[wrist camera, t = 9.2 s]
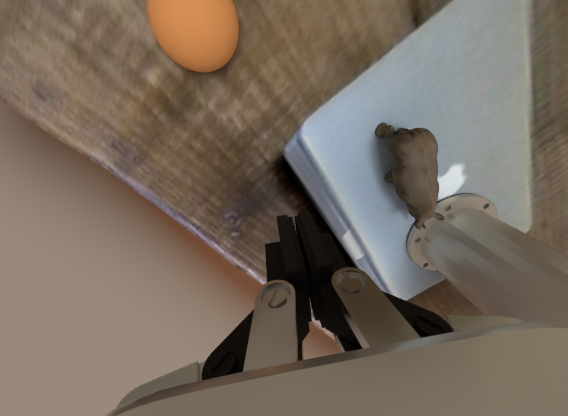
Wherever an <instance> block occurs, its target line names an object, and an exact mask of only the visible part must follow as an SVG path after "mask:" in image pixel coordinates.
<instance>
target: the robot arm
mask: <svg viewBox="0 0 568 416" xmlns="http://www.w3.org/2000/svg"><path fill="white" fill-rule="evenodd" d="M434 212H436V213H439V214H442V215H443V217H444V219H445V220H437V219H436V218H434V217H433V218H430V219H428V220H425V222H423V223H424V225H425V226H426V229H424V228H423V227H421V229H420V230H418V229H417V228H416V227H415V225H414V226H413V228H412V230H411V232H410V234H409V238H408V241H407V250H408V254H409V256H410V258H411V259H412V260H413V262H414V263H415V264H416V265H418V266H419V267H420V268H423V269H425V270H430V271H439V272H440V273H441V274H442V275H443V276H444V277H445V278H446V279H447V280H448V281H449V282H450V283H451V284H452V285H453V286H455V287H456V289H457V291H458V292H459V293H462V294H463V295H464V296H465V297H466V298H467V299H468V300H469V301H470V302H471V303H472V304H473V305H474V306H475V307H476V308H477V309H478V310H479V311H480V312H481V313H482V314H483V315H484V316H473V315H446V317H445V318H442V317H440V316H439V315H437V314H435V313H433V312H431V311H429V310H426V309H424V308H421V307H419V306H417V305H414V304H412V303H409V302H407V301H405V300H402V299H400V298H397V297H395V296H393V295H390V294H388V293H385V292H383V291H381V290H380V289H379V287H378V286H377V285H376V284H375V283H374V281H373V280H372V279H371V278H370V277H369V276H368V275H367V274H366V273H365V272H364V271H362V270H360V269H356V268H350V267H347V266H346V264H345V262H344V260H343V258H342V256H341V254H340V252H339V250H338V248H337V246H336V244H335V242H334V240H333V239H332V237H331V235H330V234H329V233H327V234H321V235H320V234H319V232H318V230H317V228H316V225H315V223H314V221H313V219H312V216H311V214H310V212H309V211H306V212H300V213H298V216H295V224H296V231H295V227H294V224H293V220H292V217H287V215H282V216H277V223H278V229H279V235H280V242H274V243H268V244H265V249H266V266H267V283H266V284H264V285H263V286H262V287H261V288H260V289H259V291H258V293H257V296H256V302H255V307H254V310H253V311H252V312H251V313H250V314H249V315H248V316H247V317H246V318H245V319H244V320H243V321H242V322H241V323H240V324H239V325H238V326H237V327H236V328H235V329H234V330H233V331H232V332H231V334H229V336H228V337H227V338H226V339H225V340H224V341H223V342H222V343H221V344H220V345H219V346H218V347H217V348H216V349H215V350H214V351H213V352H212V353H211V354H210V356H209V357H208V358H207V360H206V361H205V362H202V363H200V364H199V363H198V362H194V363H192V364H190V365H187V366H185V367H183V368H180V369H178V370H175V371H173V372H171V373H168V374H166V375H164V376H161V377H159V378H157V379H154V380H152V381H150V382H147V383H145V384H143V385H140V386H138V387H137V388H135V389H133V390H132V391H130V392H129V393H128V394H127V395H126V396H125V397H124V398H123V399H122V400H121V402H120V403H119V405H118V406H117V408H116V409H114V410H113V411H111V412H109V413H107V414H106V415H104V416H568V256H567V255H565V254H563V253H561V252H559V251H557V250H555V249H553V248H552V247H550V246H548V245H546V244H544V243H542V242H540V241H538V240H536V239H534V238H533V237H531V236H529V235H527V234H525V233H523V232H521V231H519V230H517V229H515V228H514V227H512V226H510V225H508V224H506V223H504V222H502V221H500V220H498V213H497V209H496V207H495V205H494V204H493V203H492V202H491V201H490V200H488V199H486V198H484V197H482V196H479V195H475V194H461V195H456V196H453V197H449V198H447V199H445V200H443V201H441V202H439V203H437V204H436V207H435V210H434ZM296 232H297V234H296ZM309 298H310V300H309ZM310 302H311V305H312V309H313V313H314V317H315V320H320V322H321V326H322V328H324V327H325V328H326V329H327V330H329V331H331V332H332V333H334V338H335V341H336V343H337V345H338V347H339V349H340V351H341V353H338V354H333V355H328V356H323V357H318V358H312V359H307V360H304V359H303V342H302V341H303V340H304V338H305V337H306V335H307V334H308V333H309V323H308V322H311V321H312V318H311V309H310Z"/></svg>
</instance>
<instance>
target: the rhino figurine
mask: <svg viewBox="0 0 568 416" xmlns="http://www.w3.org/2000/svg"><path fill="white" fill-rule="evenodd" d="M375 134H376V135H377V136H378V138H379V139H382V138H384V137H386V139H387V141H388V146H389V150H390V152H391V154H392V155H393V156H394V158H395V160H394V162H393V165H392V172H390V173H389V174H388V175H387V176H385V181H387V183H392V182H393V181H394V184H395V188H396V192H397V194H398V196H399V197H400V198H401V199H402V200H403V201H405V202H406V203H408V204H407V208H408V211H409V214H411V216H412V217H414V218H415V219H416V222H415V227H416V228H417V229H418V230H420V229H421V227H423V228H424V229H426V226H425V225H424V223H423V222H425V220H428V219H430V218H433V217H434V218H436V219H437V220H445V219H444V217H443V215H442V214H439V213H436V212H434V210H435V207H436V204H437V198H438V192H439V184H438V181H437V175H438V163H437V153H438V145H437V141H436V139H435V137H434V135H433V134H432V133H431V132H430V131H429V130H427V129H423V128H415V129H412V130H408V129H404V128H400V129H399V130H398V131H397V132H395V130H394V128H393V127H392V126H391V125H389V126H387V124H386V123H381V124H380V125H379V126H378V128H377V129H376V132H375Z"/></svg>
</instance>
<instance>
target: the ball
mask: <svg viewBox="0 0 568 416" xmlns="http://www.w3.org/2000/svg"><path fill="white" fill-rule="evenodd" d="M147 13H148V18H149V22H150V26H151V28H152V31H153V33H154V36H155V38H156V39H157V41H158V43H159V44H160V46H161V47H162V49H163V50H164V51H165V52H166V53H167V55H168V56H169V57H170V58H172V59H173V60H174V61H175V62H176V63H178V64H179V65H181V66H183V67H184V68H186V69H189V70H192V71H196V72H212V71H215V70H218V69H220V68H221V67H223V66H224V65H225V64H226V63H227V62H228V61H229V60H230V59H231V57H232V56H233V54H234V52H235V49H236V47H237V42H238V36H239V24H238V17H237V12H236V9H235V6H234V3H233V1H232V0H147Z"/></svg>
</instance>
